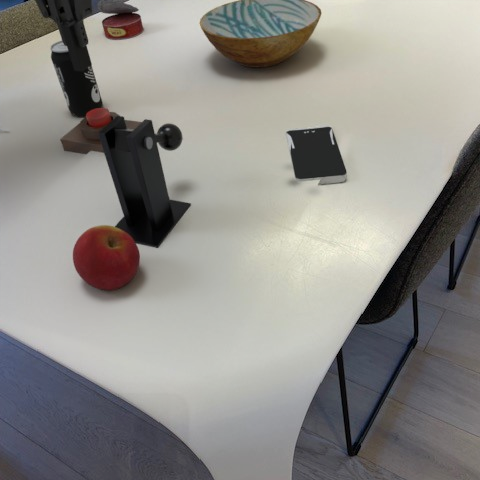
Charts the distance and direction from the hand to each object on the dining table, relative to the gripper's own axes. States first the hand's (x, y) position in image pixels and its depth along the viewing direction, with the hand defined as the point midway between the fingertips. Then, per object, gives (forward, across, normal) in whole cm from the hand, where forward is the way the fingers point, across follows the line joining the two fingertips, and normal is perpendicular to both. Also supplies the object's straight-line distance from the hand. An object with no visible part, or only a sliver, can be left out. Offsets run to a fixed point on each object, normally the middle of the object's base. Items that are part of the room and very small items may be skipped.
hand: (83, 67), depth 78 cm
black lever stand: (+13, -20, +19) cm, 31 cm away
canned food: (+13, +27, -50) cm, 58 cm away
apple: (+13, -22, +31) cm, 40 cm away
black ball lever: (+3, -20, +15) cm, 25 cm away
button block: (+13, 0, 0) cm, 13 cm away
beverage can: (+13, +11, -10) cm, 20 cm away
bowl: (+13, -14, -41) cm, 45 cm away
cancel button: (+9, 0, 0) cm, 9 cm away
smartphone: (+13, -37, -4) cm, 40 cm away
